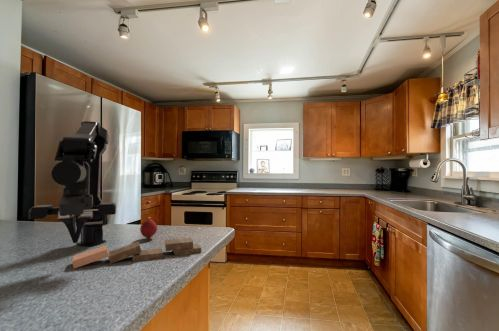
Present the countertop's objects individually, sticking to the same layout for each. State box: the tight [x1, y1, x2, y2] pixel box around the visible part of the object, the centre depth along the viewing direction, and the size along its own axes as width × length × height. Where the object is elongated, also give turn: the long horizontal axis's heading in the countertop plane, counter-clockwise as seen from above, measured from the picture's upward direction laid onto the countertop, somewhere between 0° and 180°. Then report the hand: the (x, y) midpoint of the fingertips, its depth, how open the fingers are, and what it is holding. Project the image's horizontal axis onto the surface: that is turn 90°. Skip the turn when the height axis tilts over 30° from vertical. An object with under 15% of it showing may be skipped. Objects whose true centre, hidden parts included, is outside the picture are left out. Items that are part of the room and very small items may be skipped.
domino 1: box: [107, 241, 142, 265], centre depth 73 cm, size 2×5×8 cm
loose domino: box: [71, 244, 109, 269], centre depth 70 cm, size 2×5×8 cm
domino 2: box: [132, 247, 164, 262], centre depth 75 cm, size 2×5×8 cm
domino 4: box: [172, 243, 202, 256], centre depth 80 cm, size 2×5×8 cm
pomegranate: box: [139, 216, 158, 240], centre depth 95 cm, size 6×6×8 cm
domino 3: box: [164, 237, 194, 252], centre depth 80 cm, size 2×5×8 cm
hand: (75, 242), depth 68 cm, fingers closed
